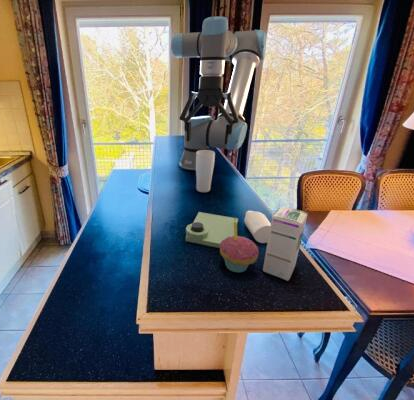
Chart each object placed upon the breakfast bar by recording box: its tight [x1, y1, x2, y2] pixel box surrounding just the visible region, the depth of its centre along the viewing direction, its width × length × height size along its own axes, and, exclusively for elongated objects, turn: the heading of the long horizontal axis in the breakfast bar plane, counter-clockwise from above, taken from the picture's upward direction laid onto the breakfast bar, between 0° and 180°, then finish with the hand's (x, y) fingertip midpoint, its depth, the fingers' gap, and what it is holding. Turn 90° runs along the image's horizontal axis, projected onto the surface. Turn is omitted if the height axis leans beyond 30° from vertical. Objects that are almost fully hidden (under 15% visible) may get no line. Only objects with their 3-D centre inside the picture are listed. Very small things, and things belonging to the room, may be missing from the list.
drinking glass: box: [195, 149, 216, 193], centre depth 98 cm, size 7×7×15 cm
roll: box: [243, 210, 271, 244], centre depth 74 cm, size 6×12×6 cm, turn 2°
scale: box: [184, 211, 239, 249], centre depth 74 cm, size 15×12×3 cm
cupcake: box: [219, 217, 259, 273], centre depth 59 cm, size 9×8×12 cm
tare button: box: [191, 222, 203, 232], centre depth 71 cm, size 3×3×2 cm
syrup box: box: [262, 205, 308, 282], centre depth 57 cm, size 6×6×14 cm
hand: (206, 142), depth 94 cm, fingers open, 13 cm apart
